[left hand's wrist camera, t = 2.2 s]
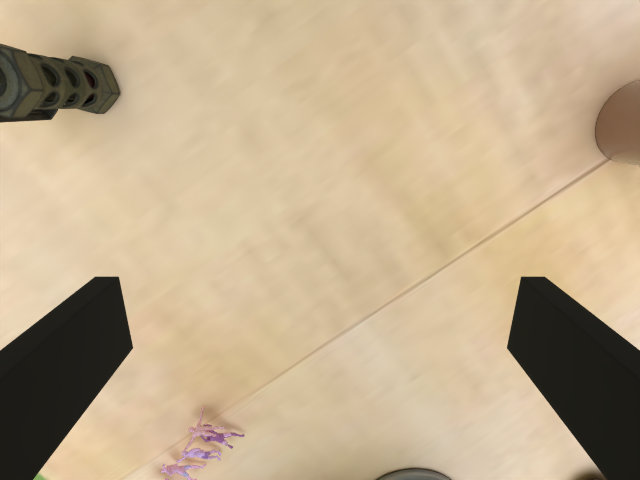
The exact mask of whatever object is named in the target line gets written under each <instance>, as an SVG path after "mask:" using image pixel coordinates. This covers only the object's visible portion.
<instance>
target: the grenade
mask: <svg viewBox="0 0 640 480" xmlns="http://www.w3.org/2000/svg"><path fill="white" fill-rule="evenodd" d="M119 95H120V92H119V89H118V86H117V83H116V80H115V78H114V76H113V73H112V71H111V70H110V68H109V66H108V65H105V64H101V63H98V62H95V61H91V60H88V59H84V58H81V57H75V56H72V57H71V58H70V59H69V60H66V59H60V58H54V57H46V56H42V55H36V54H29V53H27V52H26V51H23V50H20V49H17V48H13V47H10V46H7V45H3V44H0V122H17V121H36V120H51V119H52V118H53V117H54V115H55V114H56V112H57V111H58V109H74V108H77V109H80V110H84V111H87V112H91V113H96V114H104V113H105V112H106V111H107V110H108V109H109V108H110V107H111V106H112V105H113V104H114V102H115V101H116V99H117V98H118V96H119Z"/></svg>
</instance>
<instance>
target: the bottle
mask: <svg viewBox="0 0 640 480" xmlns="http://www.w3.org/2000/svg"><path fill="white" fill-rule="evenodd" d="M595 135H596V141H597V144H598V147H599V149H600V150H601V152H602V153H603V154H604V155H605V156H606V157H608V158H609V159H611V160H613V161H616V162H620V163H625V164H630V165H635V166H640V80H638V81H635V82H632V83H630V84H628V85H626V86H624V87H622V88H621V89H619V90H618V91H617V92H616V93H614V94H613V95H612V96H611V97H610V98H609V100H608V101H607V102H606V103H605V105H604V106H603V108H602V110H601V112H600V114H599V116H598V119H597V123H596V129H595Z"/></svg>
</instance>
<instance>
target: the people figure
mask: <svg viewBox="0 0 640 480" xmlns="http://www.w3.org/2000/svg"><path fill="white" fill-rule="evenodd" d="M203 410H204V407H202V409H201V415H200V419H199V422H198V424H197V426H196V427H195V429H194V428H193V427H190V428H189V432H193V435H192V438H191V440H190V442H189V443H188V445H187V447H186V448H185V449H184V451H182V453H181V454H182V455H183V456H184V457H183V458H182V459H179V460H177V461H176V462H179V463H180V462H181V461H182V460H183V459H185V458H186V457H191V458H192V457H199V458H203V459H213V458H217V459H218V460H221V459H220V458H219V457H218V456H208V455H210V454H211V453H215V452H217V453H218V454H219V455H220V456H221V453H220V451H219V450H218V451H216V450H211V451H204V450H201V449H200V448H195V449H191V450H190V451H188V452H187V451H186V449H187V448H188V447H189V446H190V445H191V443H192V442H193V440H194V438H195V436H199V435H200V436H201V435H202V436H201V437H202V438H203V440H204V441H205V442H210V441H217V442H219V443H221V444H225V446H228V447H230V448H231V449H232V448H233V446H230V445H228V442H227V441H226V440H225V439H224V438H227V437H230V436H239V437H244V434H242V435H239V434H237V433H217V432H215V431H213V430H215V429H223V430H225V428H224V427H217V426H214V427H212V425H208V424H207V425H204V426H208V427H202V426H200V425H201V421H202V415H203ZM208 431H209V432H208ZM203 436H205V437H207V439H205V438H204V437H203ZM164 466H165V465H164V464H163V466H162V467H163V468H162V469H161V472H162V473H163V472H166V473H167V474H168V475H169V476H171V475H172V474H174V473H178V474H180V475H183V476H185V477H187V479H188V480H193V479H191V477H189V475H188V473H187V472H186V471H184V470H187V469H190V468H204V466H206V464H204V465H203V466H197V465H185V466H177V464H174V465H170V466H169V465H168V466H167V468H165V467H164ZM165 480H168V479H165ZM194 480H197V479H194Z"/></svg>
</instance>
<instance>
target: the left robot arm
mask: <svg viewBox="0 0 640 480" xmlns="http://www.w3.org/2000/svg"><path fill="white" fill-rule="evenodd" d="M132 349H133V345H132V340H131V335H130V330H129V325H128V320H127V315H126V310H125V305H124V300H123V295H122V290H121V285H120V280H119V277H94V278H93V279H92V280H90V281H89V282H88V283H87V284H85V285H84V286H83V287H81V288H80V289H79V290H78V291H76V292H75V293H74V294H72V295H71V296H70V297H69V298H67V299H66V300H65V301H63V302H62V303H61V304H60V305H58V306H57V307H56V308H54V309H53V310H52V311H51V312H49V313H48V314H47V315H45V316H44V317H43V318H42V319H40V320H39V321H38V322H36V323H35V324H34V325H33V326H31V327H30V328H29V329H27V330H26V331H25V332H24V333H22V334H21V335H20V336H18V337H17V338H16V339H15V340H13V341H12V342H11V343H9V344H8V345H7V346H6V347H4V348H3V349H2V350H0V480H33V479H34V478H35V476H36V475H37V474H38V472H39V471H40V470H41V468H42V467H43V466H44V464H45V463H46V462H47V460H48V459H49V458H50V456H51V455H52V454H53V453H54V451H55V450H56V449H57V447H58V446H59V445H60V443H61V442H62V441H63V439H64V438H65V437H66V435H67V434H68V433H69V431H70V430H71V429H72V428H73V426H74V425H75V424H76V422H77V421H78V420H79V418H80V417H81V416H82V414H83V413H84V412H85V410H86V409H87V408H88V407H89V405H90V404H91V403H92V401H93V400H94V399H95V397H96V396H97V395H98V393H99V392H100V391H101V389H102V388H103V387H104V385H105V384H106V383H107V382H108V380H109V379H110V378H111V376H112V375H113V374H114V372H115V371H116V370H117V368H118V367H119V366H120V364H121V363H122V362H123V361H124V359H125V358H126V357H127V355H128V354H129V353H130V351H131V350H132ZM507 349H508V350H509V351H510V353H511V354H512V355H513V357H514V358H515V359H516V361H517V362H518V363H519V364H520V366H521V367H522V368H523V370H524V371H525V372H526V374H527V375H528V376H529V378H530V379H531V380H532V382H533V383H534V384H535V385H536V387H537V388H538V389H539V391H540V392H541V393H542V395H543V396H544V397H545V399H546V400H547V401H548V403H549V404H550V405H551V407H552V408H553V409H554V410H555V412H556V413H557V414H558V416H559V417H560V418H561V420H562V421H563V422H564V424H565V425H566V426H567V428H568V429H569V430H570V431H571V433H572V434H573V435H574V437H575V438H576V439H577V441H578V442H579V443H580V445H581V446H582V447H583V449H584V450H585V451H586V453H587V454H588V455H589V456H590V458H591V459H592V460H593V462H594V463H595V464H596V466H597V467H598V468H599V470H600V471H601V472H602V474H603V475H604V476H605V478H606V479H607V480H640V350H638V349H637V348H636V347H634V346H633V345H632V344H631V343H629V342H628V341H627V340H625V339H624V338H623V337H622V336H620V335H619V334H618V333H616V332H615V331H614V330H613V329H611V328H610V327H609V326H607V325H606V324H605V323H604V322H602V321H601V320H600V319H598V318H597V317H596V316H595V315H593V314H592V313H591V312H589V311H588V310H587V309H586V308H584V307H583V306H582V305H580V304H579V303H578V302H577V301H575V300H574V299H573V298H571V297H570V296H569V295H568V294H566V293H565V292H564V291H562V290H561V289H560V288H559V287H557V286H556V285H555V284H553V283H552V282H551V281H550V280H548V279H547V278H546V277H521V280H520V285H519V290H518V295H517V300H516V305H515V310H514V315H513V320H512V325H511V330H510V335H509V340H508V345H507ZM378 480H450V479H449V478H448V477H446V476H444V475H442V474H439V473H437V472H433V471H429V470H422V469H409V470H402V471H397V472H393V473H390V474H388V475H386V476H383V477H381V478H380V479H378Z"/></svg>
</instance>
